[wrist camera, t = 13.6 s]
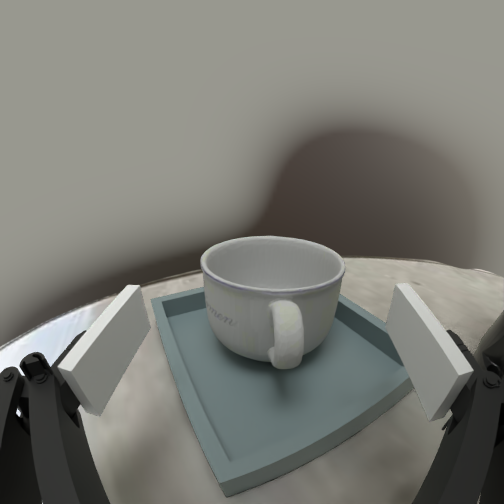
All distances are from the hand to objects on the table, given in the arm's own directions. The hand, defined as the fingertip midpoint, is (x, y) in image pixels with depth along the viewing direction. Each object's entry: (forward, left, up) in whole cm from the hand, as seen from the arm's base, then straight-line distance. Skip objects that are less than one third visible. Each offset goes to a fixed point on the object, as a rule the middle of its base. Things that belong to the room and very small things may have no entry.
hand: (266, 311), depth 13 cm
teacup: (-3, -5, -8) cm, 10 cm away
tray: (-3, -5, -9) cm, 11 cm away
